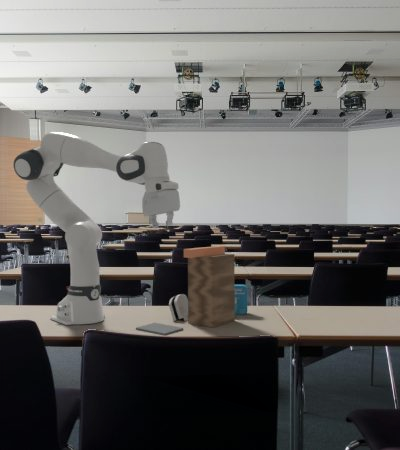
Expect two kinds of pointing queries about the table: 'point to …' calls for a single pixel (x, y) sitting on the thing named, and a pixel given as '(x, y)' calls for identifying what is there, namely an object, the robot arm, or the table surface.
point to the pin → (204, 251)
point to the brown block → (211, 290)
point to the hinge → (179, 307)
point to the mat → (159, 328)
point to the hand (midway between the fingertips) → (162, 226)
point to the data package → (240, 299)
